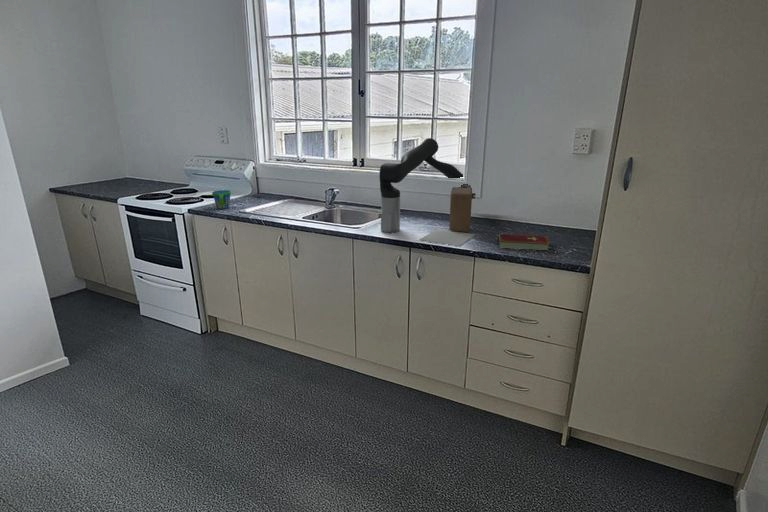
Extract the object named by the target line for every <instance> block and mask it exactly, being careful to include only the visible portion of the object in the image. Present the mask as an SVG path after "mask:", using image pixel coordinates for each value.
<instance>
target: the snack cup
mask: <svg viewBox="0 0 768 512" xmlns="http://www.w3.org/2000/svg"><path fill="white" fill-rule="evenodd" d="M231 192H232V191H231V190H228V189H227V190H226V189H224V190H223V189H220V190H214V191H212V192H211V194H212V196H213V199H214V203H215V206H216V209H217V208H218V210H227V209H226V208H228V209H230V208H231V207H230V206H231V195H232V193H231Z"/></svg>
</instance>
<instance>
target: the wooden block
mask: <svg viewBox="0 0 768 512" xmlns="http://www.w3.org/2000/svg"><path fill="white" fill-rule="evenodd" d="M450 191H451V192H450V198H449V199H450V202H449V203H450V207H449V231H453V232H460V233H469V232H470V231H471V222H472V221H471V218H472V201H473V199H472V193H473V191H472V188H461V187H459V186H458V187H456V186H455V187H452V188H451V190H450Z"/></svg>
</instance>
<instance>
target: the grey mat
mask: <svg viewBox="0 0 768 512" xmlns="http://www.w3.org/2000/svg"><path fill="white" fill-rule="evenodd" d="M474 235H475V234H473V233H468V232H460V231H450V230H444V229H439V228H438V229H434V230H433V231H431V232H430V233H427V234H426V235H424V236H423V237H420V238H419V239H418V241H419V240H421V241H420V242H424V241H429V242H428V243H431V242H435V243H434V244H437V243H442V244H441V245H444V244H448V245H447V246H450V245H455V246H454V247H457V246H460V247H461V246H463V245H465V244H466V243H467V242H468V241H470V239H472V238H474ZM466 241H467V242H466ZM462 244H463V245H462Z"/></svg>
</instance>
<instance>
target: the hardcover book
mask: <svg viewBox="0 0 768 512" xmlns="http://www.w3.org/2000/svg"><path fill="white" fill-rule="evenodd" d="M497 238H498V239H497V241H498V245H499V244H500V245H499V248H500V247H502V248H522V249H541V250H548V251H549V247H550V245H551V243H550V240H549V238H548V236H546V235H545V236H544V235H543V236H542V235H526V234H525V235H523V234H509V233H498V237H497ZM502 248H501V249H502Z"/></svg>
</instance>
